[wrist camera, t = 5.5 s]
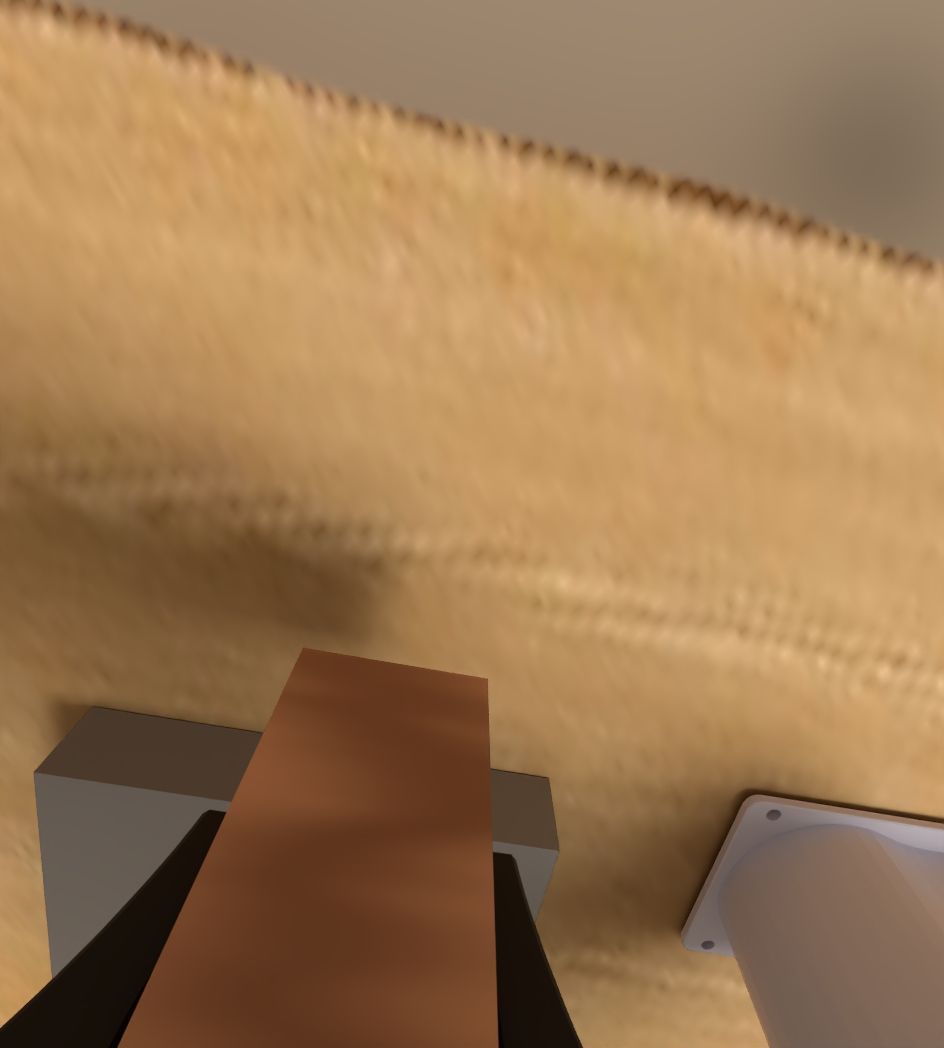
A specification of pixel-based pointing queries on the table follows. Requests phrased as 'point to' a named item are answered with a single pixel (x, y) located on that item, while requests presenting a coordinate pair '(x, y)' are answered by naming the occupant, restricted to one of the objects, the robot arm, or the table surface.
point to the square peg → (344, 876)
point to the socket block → (190, 814)
